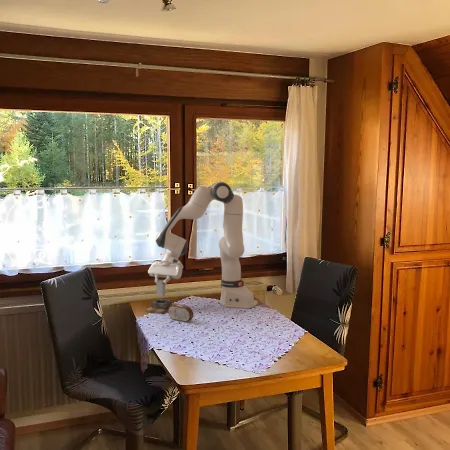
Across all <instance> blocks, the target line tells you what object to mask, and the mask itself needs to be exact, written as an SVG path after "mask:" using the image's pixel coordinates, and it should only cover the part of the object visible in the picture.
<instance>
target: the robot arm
mask: <svg viewBox="0 0 450 450" xmlns="http://www.w3.org/2000/svg"><path fill="white" fill-rule="evenodd" d="M213 201H218V202H220V203H223V207H224V208H223V222H222V228H223V234H224V235H223V236H222V237H221V238H220V239H219V241H218V249H219V254H220V255H219V256H220V263H221V280H220V281H221V282H220V286H221V287H220V288H221V293H220V299H219V304H220V305H222V306H223V307H224V308H238V309H239V308H240V309H252V308H254V307H255V306H257V305H258V300H255V297H254V293H253V292H252V291H251V290H250V289H249V288H247V287H246V286H245V284H244V283H245V280H242V269H241V268H242V267H241V263H240V257H242V256H243V254H244V252H245V245H244V236H243V235H244V234H243V218H244V203H243V198H242V196H241V195H238V194H235V193H234V192H233V190H232V188H231V186H230V185H229V184H228V183H226V182H224V181H216V182H215V183H213V184H211V185H209V186H208V187H207V186H204V185H200V186H198V187H196V189H195V190H194V192H193V194H192V195H191V197H190V198H189V200H188V202H187V204H185V205H184V206H180V207H179V208H177V210H176V211H175V212H174V213H173V215H172V216H171V217H170V219H169V220H168V221H167V223H166V224H165V226H164V227H163V229H161V231H160V232H158V233H157V236H156V238H155V243H156V246H157V247H159V248H162V249H165V253H164V254H163V256H162V258H161V261H157V260H155V261H154V262H152V263H151V265H150V267H149V269H148V270H147V274H148V275H149V277H154V283H155V284H156V281H158V280H159V278H165V279H163V280H164V281H163V284H165V285H167V283H168V282H169V281H170V280H171V279H176V280H179V279H181V277H182V274H183V269H184V265H183V263H182V262H181V261H180V260H179V257H183V256H184V255H185V254H186V251H187V249H188V246H189V243H188V241H187V239H185V238H183V237H180V236H178V235H177V234H174V233H172V232H171V231H172V229H173V228H174V227H175V225H176V224H177V223H178V221H180V220H185V219H187V220H199V219H201V218H202V217H203V216H204V215H205V212H206V211H207V209H208V207H209V205H210V204H211V202H213Z"/></svg>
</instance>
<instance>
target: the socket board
mask: <svg viewBox="0 0 450 450" xmlns="http://www.w3.org/2000/svg"><path fill="white" fill-rule="evenodd" d="M150 303H151V304H150V307H148V308H146V309H145V310H144V312H145V313H150V314H151V313H152V314H159V315H164V314H165V313H167V312H168V308H169V307H170V306H171V305H173V304H177V303H173V301H172V300H170V299H162V298H158V299H155V300H153V301H151V302H150Z"/></svg>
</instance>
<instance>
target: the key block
mask: <svg viewBox="0 0 450 450" xmlns="http://www.w3.org/2000/svg"><path fill="white" fill-rule="evenodd" d="M164 280H165V279H162V280H161V279H158V281H156V283H155V284H156V286H155V289H156V293H155V294H156V297H165V296H166V284H163V281H164Z"/></svg>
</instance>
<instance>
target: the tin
mask: <svg viewBox="0 0 450 450" xmlns="http://www.w3.org/2000/svg"><path fill="white" fill-rule="evenodd" d="M193 311H194V310H192V308H191V307H190V306H188V305H184V304H179V303H176V304H173V305H171V306H170V307H169V308H168V311H167V312H168V316H169V317H170V318H171V319H172V320H174V321H178V322H184V323H187V322H191V321H192V320H193V317H194V312H193Z"/></svg>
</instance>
